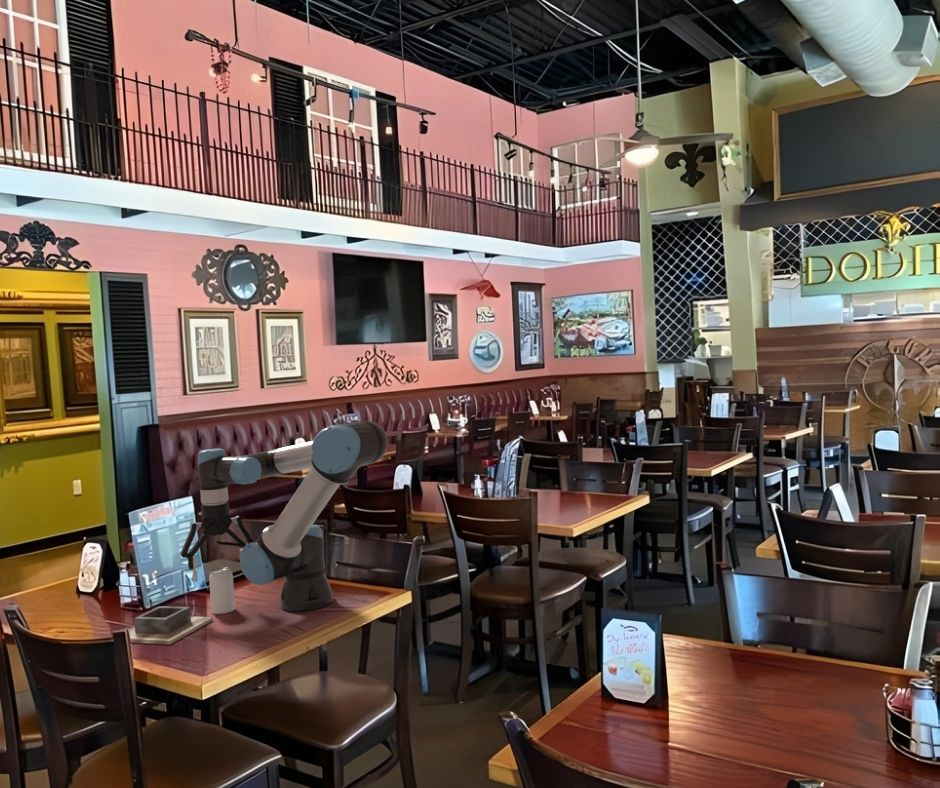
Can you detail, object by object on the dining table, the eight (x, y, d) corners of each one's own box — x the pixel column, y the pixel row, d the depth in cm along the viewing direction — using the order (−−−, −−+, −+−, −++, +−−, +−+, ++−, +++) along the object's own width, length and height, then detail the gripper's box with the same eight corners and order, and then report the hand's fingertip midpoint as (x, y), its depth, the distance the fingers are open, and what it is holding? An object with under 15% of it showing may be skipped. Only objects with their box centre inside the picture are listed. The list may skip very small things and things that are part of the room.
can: (238, 607, 225) (235, 566, 224) (229, 614, 218) (226, 572, 218) (217, 607, 225) (214, 567, 225) (208, 615, 219) (204, 573, 218)
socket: (212, 620, 214) (211, 603, 213) (169, 644, 196) (168, 625, 196) (158, 618, 219) (157, 601, 219) (112, 641, 202) (110, 622, 201)
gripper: (255, 495, 230) (260, 565, 231) (167, 507, 218) (172, 580, 219) (261, 498, 223) (266, 570, 224) (170, 510, 211) (175, 587, 212)
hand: (220, 576), depth 222 cm, fingers open, 13 cm apart
